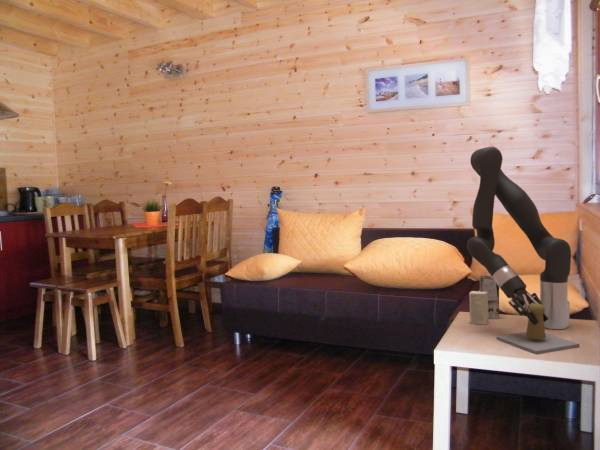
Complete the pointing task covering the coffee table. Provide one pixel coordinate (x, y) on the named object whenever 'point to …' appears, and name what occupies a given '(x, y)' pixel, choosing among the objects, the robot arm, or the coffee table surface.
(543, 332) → the cork
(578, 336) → the coffee table surface
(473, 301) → the skincare box
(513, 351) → the coffee table surface
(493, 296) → the coffee box
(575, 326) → the coffee table surface
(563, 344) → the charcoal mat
